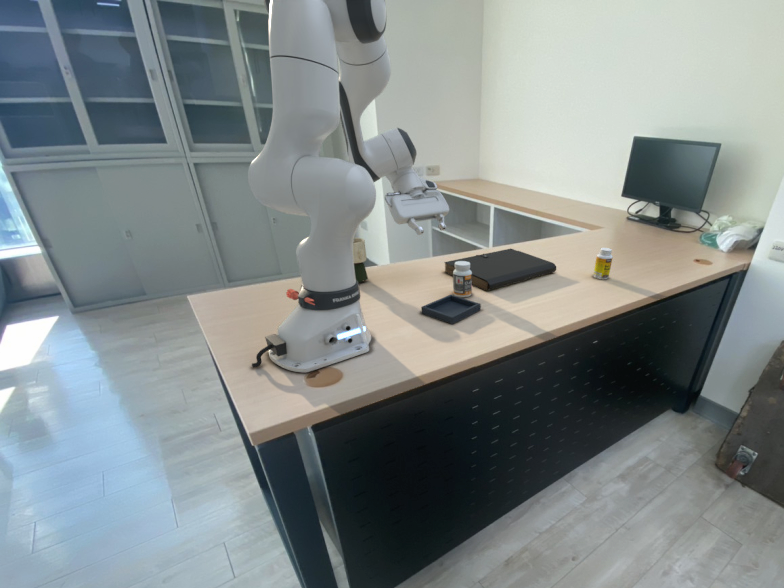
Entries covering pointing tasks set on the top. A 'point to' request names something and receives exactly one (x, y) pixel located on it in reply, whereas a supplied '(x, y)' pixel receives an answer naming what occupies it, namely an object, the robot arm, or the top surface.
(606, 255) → the supplement bottle
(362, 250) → the character mug
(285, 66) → the robot arm
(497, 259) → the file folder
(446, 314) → the tray
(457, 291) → the pill bottle
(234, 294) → the top surface
